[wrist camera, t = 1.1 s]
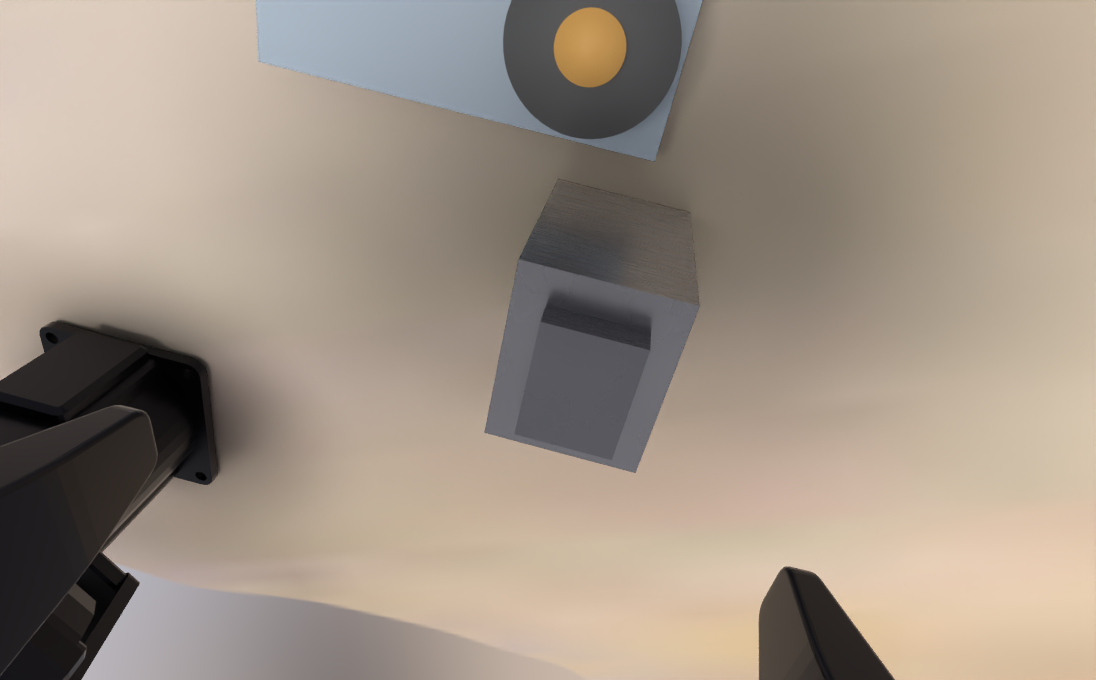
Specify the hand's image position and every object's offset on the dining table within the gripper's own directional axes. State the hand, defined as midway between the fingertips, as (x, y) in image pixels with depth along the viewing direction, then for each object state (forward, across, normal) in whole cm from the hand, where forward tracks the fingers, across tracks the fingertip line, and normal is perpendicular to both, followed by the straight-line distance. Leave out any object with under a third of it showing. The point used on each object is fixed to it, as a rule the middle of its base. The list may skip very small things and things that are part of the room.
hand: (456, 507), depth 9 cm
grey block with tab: (+12, -1, +2) cm, 12 cm away
